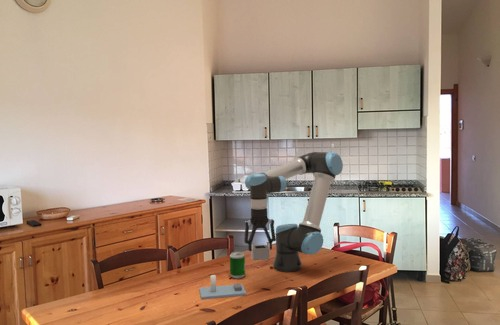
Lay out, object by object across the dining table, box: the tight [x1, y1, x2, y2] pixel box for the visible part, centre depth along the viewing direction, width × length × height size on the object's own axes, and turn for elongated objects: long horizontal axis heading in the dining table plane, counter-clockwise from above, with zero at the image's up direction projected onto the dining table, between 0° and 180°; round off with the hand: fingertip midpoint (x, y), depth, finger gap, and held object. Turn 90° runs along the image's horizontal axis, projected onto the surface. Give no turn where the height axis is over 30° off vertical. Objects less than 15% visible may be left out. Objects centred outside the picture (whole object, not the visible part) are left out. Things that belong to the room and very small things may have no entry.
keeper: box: [199, 274, 247, 300], centre depth 192 cm, size 20×12×8 cm, turn 100°
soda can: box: [229, 251, 246, 280], centre depth 213 cm, size 8×8×12 cm
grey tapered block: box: [253, 244, 271, 261], centre depth 195 cm, size 7×7×5 cm
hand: (260, 257), depth 195 cm, fingers closed on grey tapered block, 7 cm apart
